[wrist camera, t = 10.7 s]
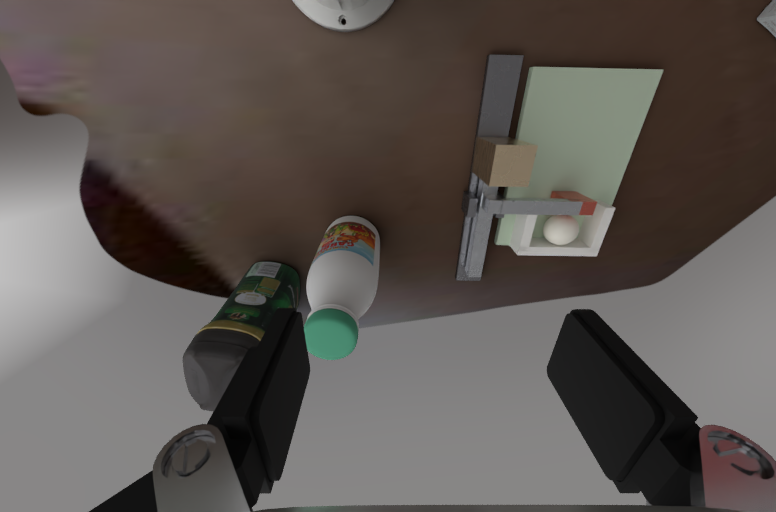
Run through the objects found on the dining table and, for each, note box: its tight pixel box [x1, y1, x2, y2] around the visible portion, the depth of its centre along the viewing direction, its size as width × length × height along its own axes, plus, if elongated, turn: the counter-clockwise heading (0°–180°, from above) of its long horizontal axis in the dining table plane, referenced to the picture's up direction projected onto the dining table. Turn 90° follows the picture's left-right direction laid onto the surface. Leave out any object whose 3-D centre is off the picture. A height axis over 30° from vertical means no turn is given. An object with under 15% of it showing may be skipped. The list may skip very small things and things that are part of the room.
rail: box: [455, 55, 524, 281], centre depth 37 cm, size 28×5×3 cm, turn 179°
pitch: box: [494, 67, 663, 245], centre depth 37 cm, size 21×14×1 cm, turn 179°
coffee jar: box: [183, 261, 300, 411], centre depth 37 cm, size 10×8×19 cm
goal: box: [509, 200, 615, 256], centre depth 39 cm, size 7×10×3 cm, turn 89°
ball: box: [543, 215, 579, 245], centre depth 38 cm, size 4×4×4 cm
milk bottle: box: [304, 216, 380, 360], centre depth 33 cm, size 8×8×20 cm
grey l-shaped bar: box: [465, 137, 597, 277], centre depth 36 cm, size 18×14×7 cm
